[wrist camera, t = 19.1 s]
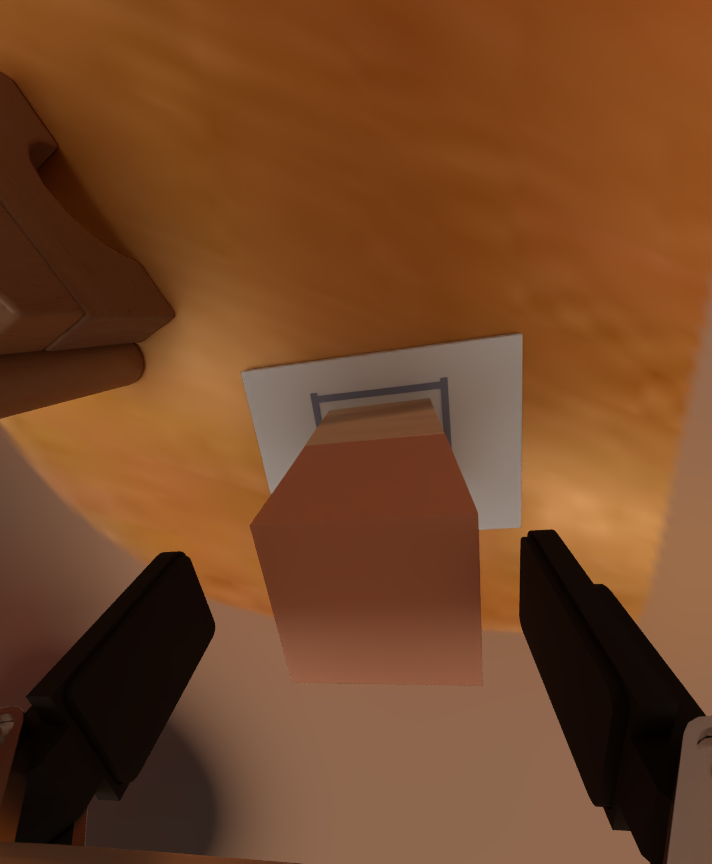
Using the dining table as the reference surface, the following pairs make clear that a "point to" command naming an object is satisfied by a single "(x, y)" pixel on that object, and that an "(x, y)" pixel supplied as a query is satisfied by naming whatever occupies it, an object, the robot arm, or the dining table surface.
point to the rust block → (374, 564)
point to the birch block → (377, 422)
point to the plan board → (403, 381)
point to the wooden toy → (60, 284)
